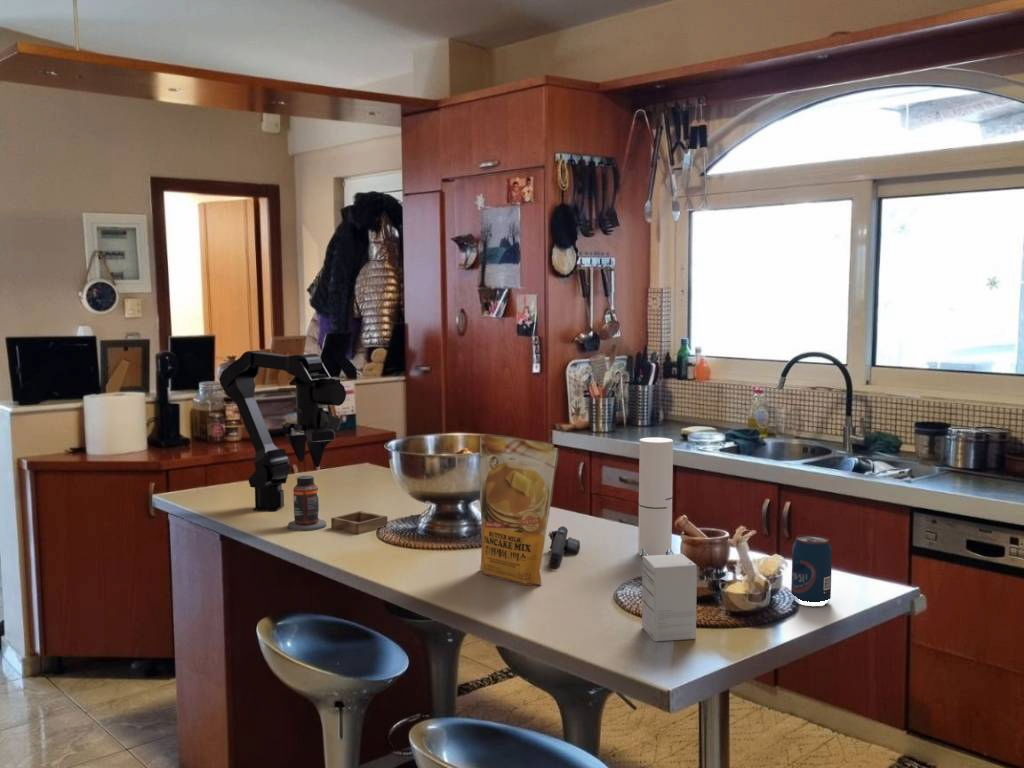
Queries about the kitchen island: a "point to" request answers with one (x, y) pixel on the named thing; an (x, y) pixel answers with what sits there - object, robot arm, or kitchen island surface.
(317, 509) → the supplement bottle
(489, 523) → the pancake mix bag
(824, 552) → the soda can
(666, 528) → the cylindrical container
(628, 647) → the kitchen island surface
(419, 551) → the kitchen island surface
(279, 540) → the kitchen island surface
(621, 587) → the kitchen island surface
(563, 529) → the can opener
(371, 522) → the pocket
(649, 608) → the supplement box
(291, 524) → the coaster
